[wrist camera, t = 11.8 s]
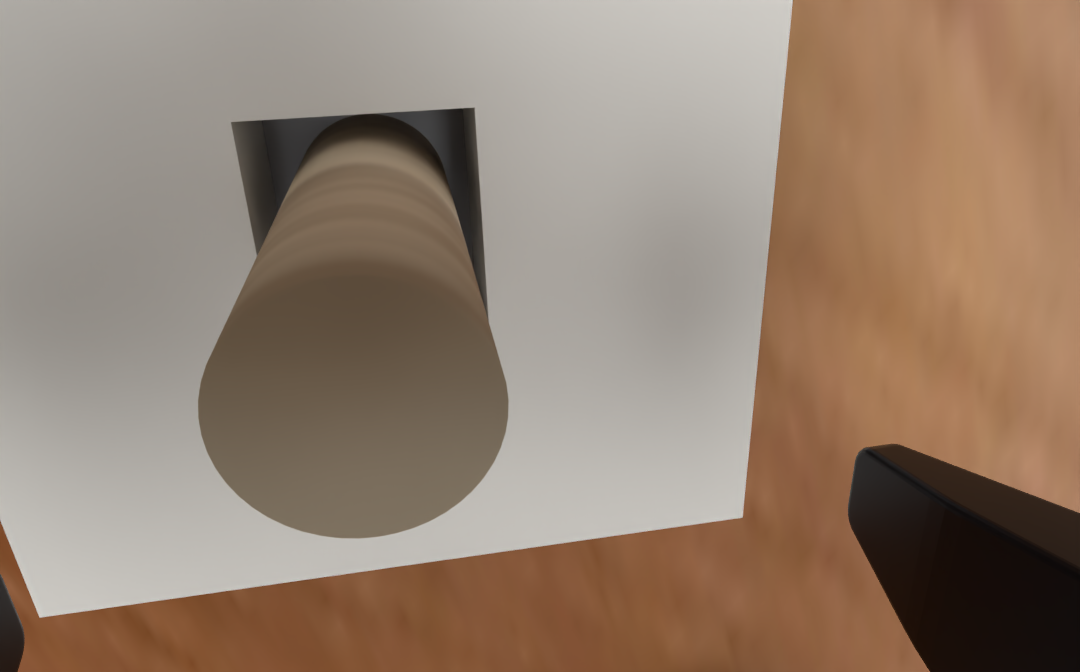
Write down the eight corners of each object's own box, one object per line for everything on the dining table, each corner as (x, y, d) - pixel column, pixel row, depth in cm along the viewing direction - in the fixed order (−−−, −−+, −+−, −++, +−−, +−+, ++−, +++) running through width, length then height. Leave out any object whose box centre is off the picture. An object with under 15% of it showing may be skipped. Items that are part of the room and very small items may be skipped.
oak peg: (452, 250, 18) (515, 517, 9) (311, 263, 18) (232, 557, 9) (440, 109, 17) (500, 260, 8) (287, 118, 16) (164, 290, 7)
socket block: (686, 432, 23) (742, 517, 19) (101, 504, 20) (39, 617, 17) (724, -237, 16) (821, -300, 12) (-148, -241, 14) (-339, -319, 10)
